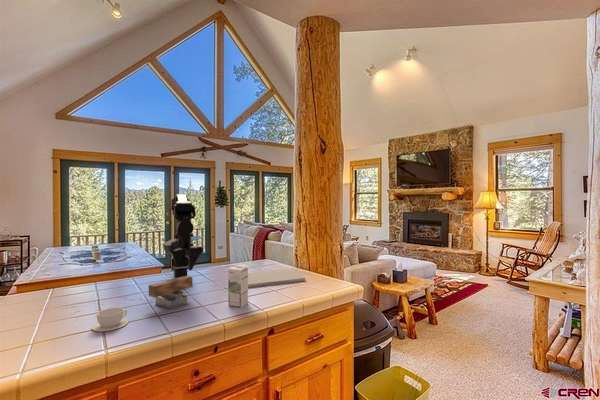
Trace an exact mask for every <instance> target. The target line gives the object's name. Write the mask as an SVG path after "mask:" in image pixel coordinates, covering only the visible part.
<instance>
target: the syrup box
mask: <svg viewBox="0 0 600 400" xmlns="http://www.w3.org/2000/svg"><path fill="white" fill-rule="evenodd" d="M227 270H228V271H227V274H228V278H227V280H228V281H227V282H228V283H227V284H228V296H227V297H228V300H227V301H228V307H233V308H243V307H244V306H247V304H248V303H249V287H248V273H249V267H248V266H246V265H245V266H243V265H233V266H231V267H229V268H228V269H227Z"/></svg>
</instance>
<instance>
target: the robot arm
mask: <svg viewBox="0 0 600 400" xmlns="http://www.w3.org/2000/svg"><path fill="white" fill-rule="evenodd" d="M170 203H171V204H170V208H171V209H170V210H171V211H172V215H173V217H174V220H175V225H176V226H175V233H174V235H173V238H171V239H169V240H167V241H165V242H163V243H162V246H163V249H164V252H166V253H169V254H170V255H171V256H172V257H171V260H170V261H171V263H170V267H171V268H170V269H171V271H173V279H175V278H179V277H183V276H188V271H192V270H193V269H194V266H195V264H196V263H197V261H198V259H199V257H200V256H201V255H202V254H204V248H203V246H201V245H194V243H192V238H193V237H194V234H193V233H192V232H193V231H194V229H195V228H194V223H192V219H195V217H196V216H197V215H196V214H197V213H196V206H195V205H194V204H193V202H192V201H190V199H189V197H188V195H187V194H185V193H177V194H175V196H174V197H173V198H172V199H171V201H170Z"/></svg>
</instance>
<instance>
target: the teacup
mask: <svg viewBox="0 0 600 400" xmlns="http://www.w3.org/2000/svg"><path fill="white" fill-rule="evenodd" d="M127 311H128V310H127V309H124V308H123V307H110V308H105V309H101V310H100V311H98V312H97V313H96V320H97V323H95V324H94V325H93V326H92V327H91V331H94V332H109V331H113V330H117V329H120V328H123V327H124V326H126V325H127V324H128V323H129V320H128V319H127V318H125V317H126V316H127V314H128V312H127Z"/></svg>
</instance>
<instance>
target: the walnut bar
mask: <svg viewBox="0 0 600 400" xmlns="http://www.w3.org/2000/svg"><path fill="white" fill-rule="evenodd" d="M190 288H193V276H190V275H187V276H183V277H179V278H175V279H174V278H171V279H167V280H163V281H159V282H154V283H151V284H148V296H149V297H152V298H155V299H156V297H159V296H162V295H166V294H169V293H173V292H176V291H180V292H181V291H184V290H187V289H190Z"/></svg>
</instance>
